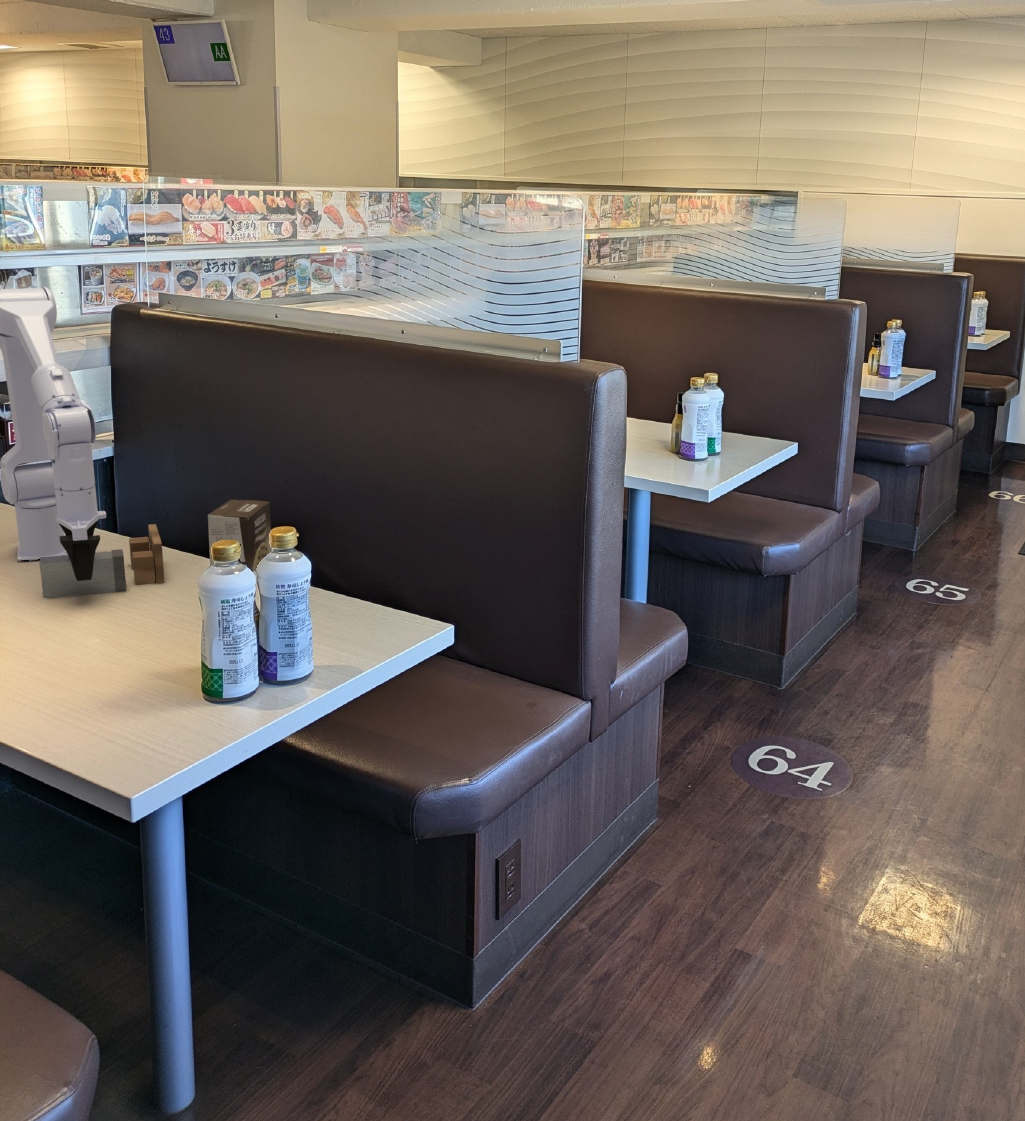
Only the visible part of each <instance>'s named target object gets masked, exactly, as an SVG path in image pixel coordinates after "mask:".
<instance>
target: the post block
mask: <svg viewBox="0 0 1025 1121" xmlns="http://www.w3.org/2000/svg"><path fill="white" fill-rule="evenodd" d="M147 528H148V536H142V537H131V538H130V537H129V538H128V543H129V553H130V556H129V557H130V565H131V570H133V578H134V583H135V584H134V585H146V584H164V583H165V581H166V580H165V570H164V569H165V568H164V556H163V555H164V554H163V553H164V552H163V544H162V540H161V536H160V533H159V530H158V527H157V524H156V523H155V524H153V523H152V524H151V523H150V524H148V525H147Z"/></svg>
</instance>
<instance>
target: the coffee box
mask: <svg viewBox="0 0 1025 1121" xmlns="http://www.w3.org/2000/svg"><path fill="white" fill-rule="evenodd" d="M270 506H271V503H270V501H267V500H266V501H265V500H264V501H263V500H253V499H252V500H249V499H246V500H245V499H243V500H241V499H230V500H228V501H226V502H225V503H224V504H222V505H220V506H219V507H217V508H216V509H214V510H213V511H212V512H209V513H208V514H207V522H208V523H207V526H208V527H207V528H208V529H207V531H208V547H209V567H210V566H211V565H213V564H214V561H213V560H212V555H211V546H212V544H213V543H215V542H217V541H221V540H236V541H238V542H239V543H240V544H241V555H240V561H241V562H247V563H248V565H249V566H250V568H251V569H252V570H253V571H256V568H257V565H258V564H259V562H260V561H261V560H262V559H263V558H264V557H265V556H267V554H269V553H270V552H271V553H272V546H271V547H270V544H269V533H270V531H271V528H272V527H271V508H270ZM271 532H272V531H271Z"/></svg>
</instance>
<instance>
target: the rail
mask: <svg viewBox="0 0 1025 1121" xmlns="http://www.w3.org/2000/svg"><path fill="white" fill-rule="evenodd" d="M123 550H124V549H123V548H121V549H111V551H110V550H109V551H99V552H95V556H94V564H93V574H92V579H91V580H84V581H77V579H76V577H75V574H74V571H73V568H72V564H71V561H70V558H69V556H68V555H61V556H49V557H40V560H39V568H40V569H39V571H40V577H41V578H40V579H41V590H42V599H43V598H50V599H58V598H59V597H60V598H69V597H78V596H89V595H90V596H91V595H102V594H109V593H121V592H127V581H126V580H127V579H126V569H125V557H124V551H123ZM60 598H59V599H60Z"/></svg>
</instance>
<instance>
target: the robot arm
mask: <svg viewBox="0 0 1025 1121" xmlns="http://www.w3.org/2000/svg"><path fill="white" fill-rule="evenodd" d="M57 311H58V309H57V303H56V300H55V296H54V293H53V292H52V291H51V290H50V288H48V287H47V286H42V287H38V288H37V287H36V288H35V287H33V288H5V289H3V288H1V289H0V352H1V355H2V358H3V365H4V372H5V378H6V385H7V387H6V388H7V391H8V392H7V393H8V399H9V406H10V407H9V408H10V412H11V420H12V426H13V427H12V428H13V433H14V434H13V435H14V439H15V445H14V446H13V447H11V449H9V450H8V451H7V452H6V453H5V454H4V455H2V457H1V458H0V486H1V491H2V494H3V497H4V499H5V501H6V502H8V503H9V504H10V505H14V509H15V510H14V511H15V518H16V520H15V521H16V527H17V535H18V537H17V538H18V543H19V545H18V544H17V554H16V560H29V561H38V559H40V557H49V556H61V555H68V556H69V558H70V561H71V564H72V568H73V571H74V574H75V577H76V579H77V581H84V580H91V579H92V574H93V564H94V556H95V553H97V552H96V551H97V548H98V546H99V543H100V541H101V535H100V534H96V535H94V532H95V530H96V527H97V524H98V522H99V520H100V519H102V520H103V519H106V518H107V512H106V511H105V510H98V500H97V491H96V480H95V469H94V457H93V448H92V444H94V443H95V442H96V438H97V424H96V420H95V416H94V413H93V410H92V408H91V407H90V405H89V404H88V403H86V400H85V399H81V398H80V395H79V393H78V390H77V387H76V384H75V381H74V379H73V377H72V374H71V372H70V370H69V368H66V367H65V366H63V365H60V364H59V360H58V355H57V352H56V351H57V350H56V348H55V344H54V339H53V337H52V334H51V333H52V332H53V331H54V329H55V324H56V322H57V316H58V312H57ZM28 463H29V464H28ZM19 557H21V558H19Z"/></svg>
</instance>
